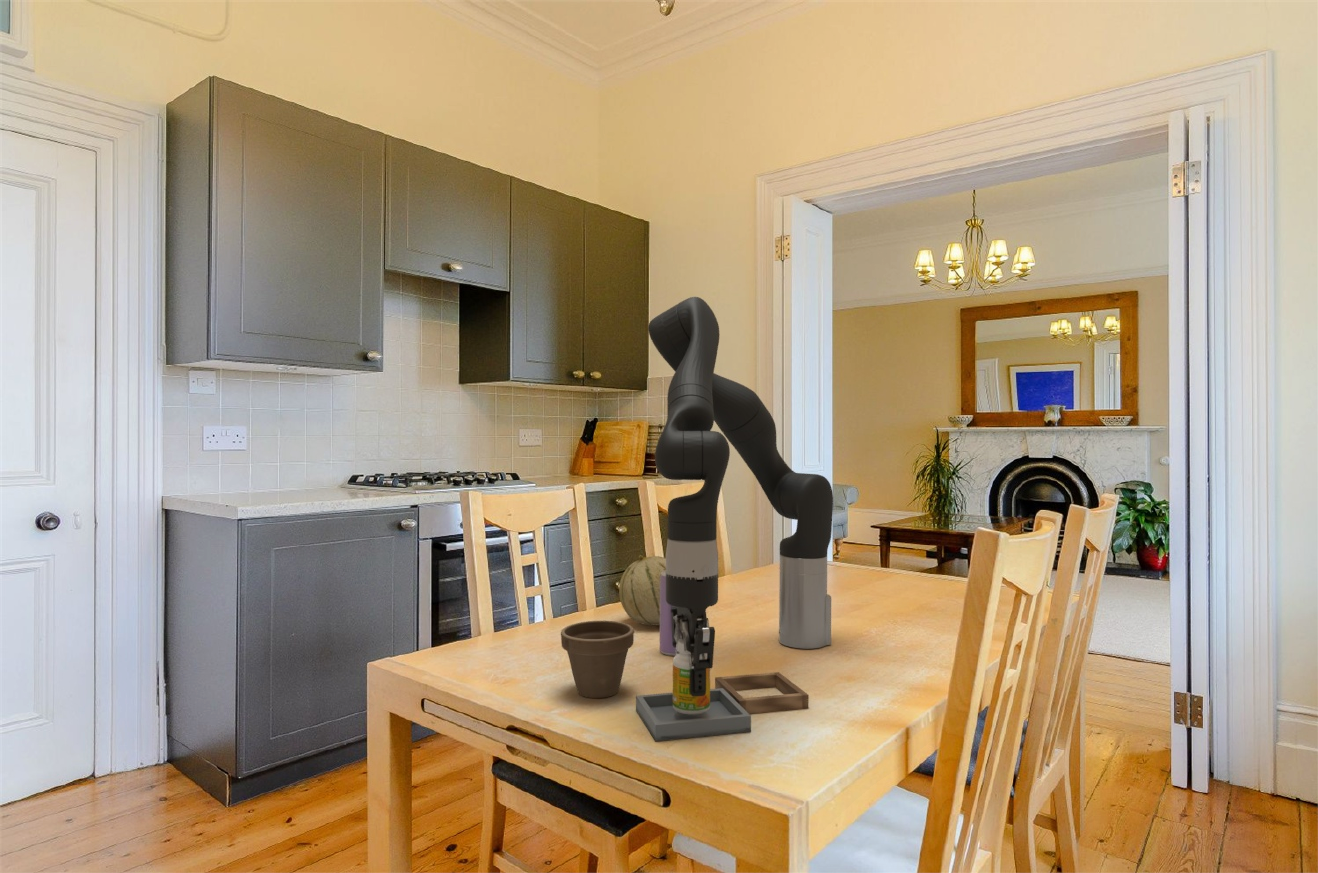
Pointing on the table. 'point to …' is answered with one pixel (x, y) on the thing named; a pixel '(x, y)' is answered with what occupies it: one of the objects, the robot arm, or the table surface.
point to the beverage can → (665, 620)
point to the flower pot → (597, 655)
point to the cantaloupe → (642, 589)
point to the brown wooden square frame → (788, 701)
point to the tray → (692, 717)
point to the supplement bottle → (687, 686)
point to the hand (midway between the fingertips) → (691, 687)
